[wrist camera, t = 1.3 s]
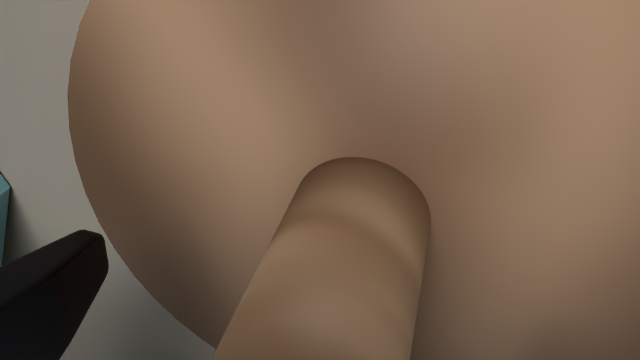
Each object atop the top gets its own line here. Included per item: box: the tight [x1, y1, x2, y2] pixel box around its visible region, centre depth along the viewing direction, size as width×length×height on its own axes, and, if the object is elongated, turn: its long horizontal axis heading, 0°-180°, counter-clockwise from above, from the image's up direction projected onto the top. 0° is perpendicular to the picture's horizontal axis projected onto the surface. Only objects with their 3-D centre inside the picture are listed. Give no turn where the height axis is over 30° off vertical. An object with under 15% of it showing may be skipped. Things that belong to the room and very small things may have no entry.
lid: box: [68, 0, 640, 360], centre depth 11 cm, size 14×14×5 cm
